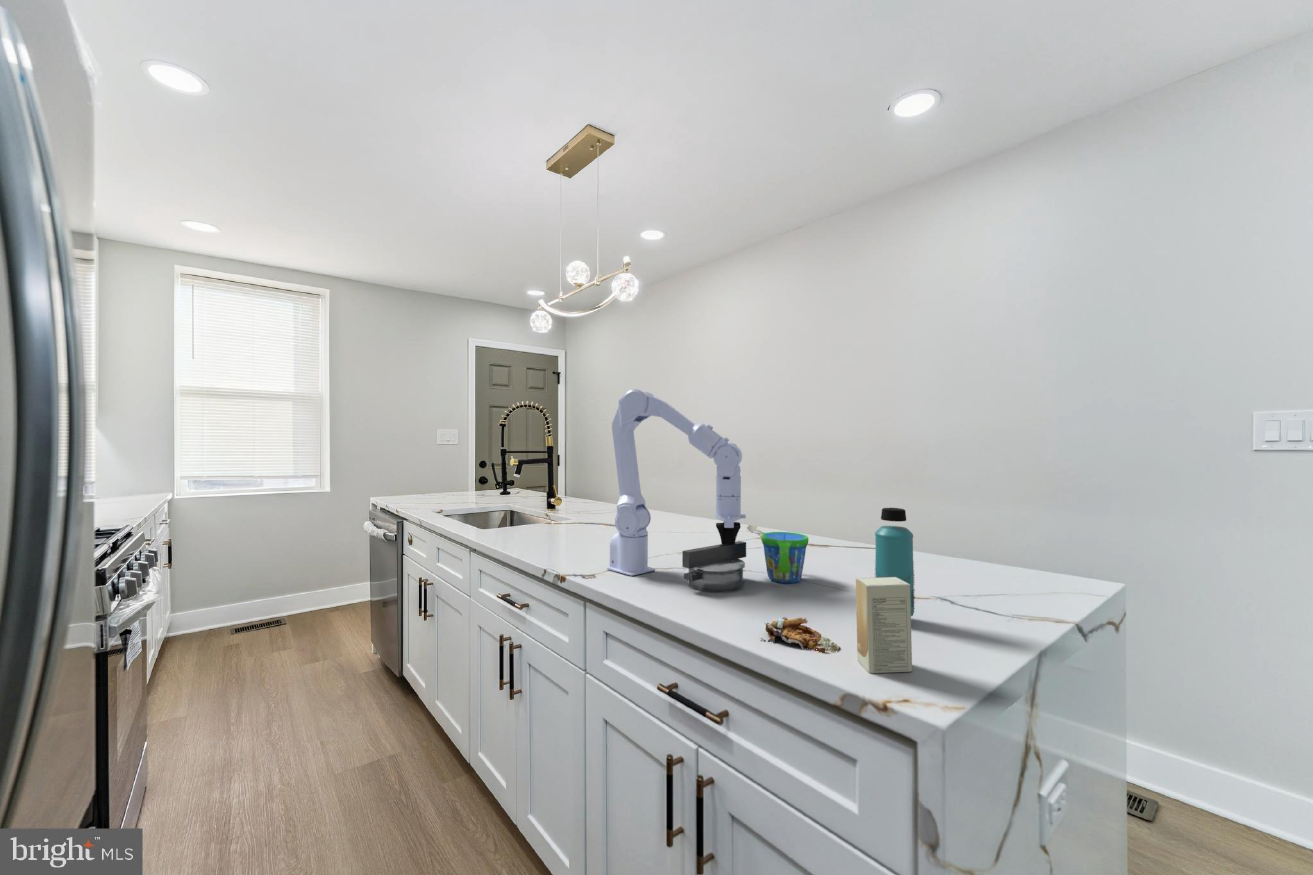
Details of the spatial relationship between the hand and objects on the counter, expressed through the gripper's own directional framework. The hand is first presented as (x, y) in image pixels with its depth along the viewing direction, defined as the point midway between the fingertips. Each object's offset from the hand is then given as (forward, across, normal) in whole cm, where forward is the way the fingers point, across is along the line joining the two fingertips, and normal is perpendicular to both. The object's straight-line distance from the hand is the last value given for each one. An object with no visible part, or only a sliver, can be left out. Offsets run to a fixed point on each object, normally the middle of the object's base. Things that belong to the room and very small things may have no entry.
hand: (728, 554), depth 124 cm
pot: (+6, -6, +3) cm, 9 cm away
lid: (+1, -6, +3) cm, 7 cm away
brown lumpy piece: (+6, -38, -11) cm, 40 cm away
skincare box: (+6, -47, -21) cm, 51 cm away
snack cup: (+6, 0, -13) cm, 14 cm away
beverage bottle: (+6, -26, -29) cm, 39 cm away
